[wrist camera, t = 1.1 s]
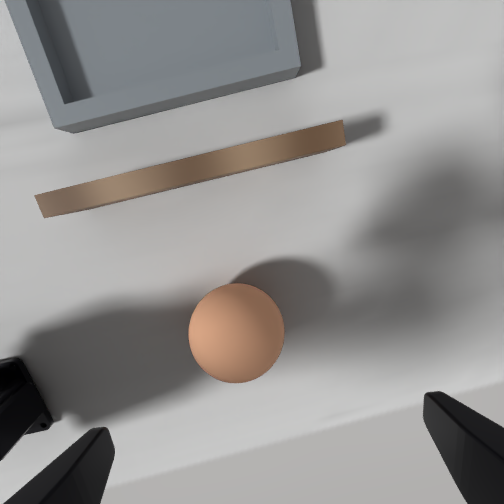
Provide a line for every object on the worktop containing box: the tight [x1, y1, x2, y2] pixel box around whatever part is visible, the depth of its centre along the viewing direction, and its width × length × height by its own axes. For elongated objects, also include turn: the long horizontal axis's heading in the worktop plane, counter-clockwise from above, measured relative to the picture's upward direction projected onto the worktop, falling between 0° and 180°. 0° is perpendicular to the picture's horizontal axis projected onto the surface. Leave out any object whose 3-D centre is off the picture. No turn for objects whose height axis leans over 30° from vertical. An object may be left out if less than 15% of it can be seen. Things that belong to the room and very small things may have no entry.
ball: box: [189, 283, 284, 383], centre depth 17 cm, size 6×6×6 cm
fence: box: [34, 120, 346, 218], centre depth 16 cm, size 16×1×4 cm, turn 103°
